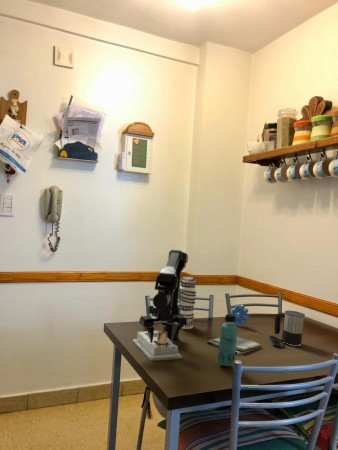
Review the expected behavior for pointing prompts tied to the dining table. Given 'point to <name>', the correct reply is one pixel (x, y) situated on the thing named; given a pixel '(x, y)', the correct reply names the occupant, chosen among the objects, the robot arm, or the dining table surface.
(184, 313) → the leaning tower model
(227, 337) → the beverage bottle
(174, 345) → the aluminium jig
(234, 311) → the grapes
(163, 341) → the solid brass peg
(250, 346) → the dish towel
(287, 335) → the milk frother
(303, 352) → the dining table surface
